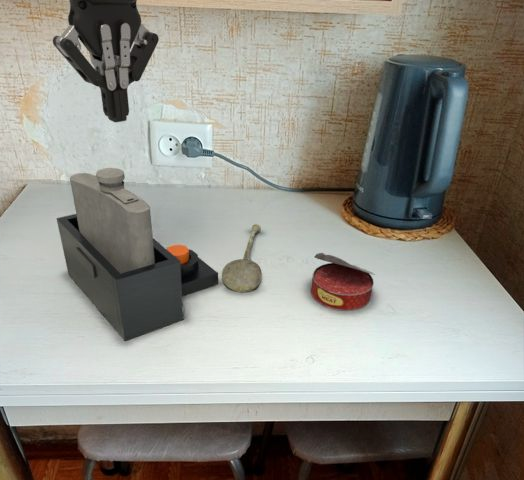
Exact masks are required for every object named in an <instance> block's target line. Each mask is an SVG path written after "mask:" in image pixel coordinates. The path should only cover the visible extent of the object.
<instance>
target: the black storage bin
mask: <svg viewBox="0 0 524 480" xmlns="http://www.w3.org/2000/svg"><path fill="white" fill-rule="evenodd" d="M56 222H57V228H58V232H59V237H60V243H61V247H62V251H63V256H64V260H65V264H66V270H67V274H68V276H69V277H70V278H71V280H72V281H73V282H74V283H75V285H77V287H78V288H79V290H81V291H82V292H83V294H84V295H85V296H86V297H87V298H88V299H89V301H90V302H91V303H92V305H94V307H95V308H96V309H97V310H98V311H99V312H100V313H101V315H102V316H103V317H104V319H106V321H107V322H108V323H109V324H110V326H111V327H113V329H114V330H115V331H116V332H117V334H118V335H119V336H120V338H121V339H122V340H123V341H124V342H126V341H129V340H132V339H135V338H137V337H141V336H143V335H145V334H148V333H152V332H154V331H157V330H159V329H162V328H164V327H168V326H170V325H173V324H175V323H179V322H181V321H184V309H183V307H184V306H183V296H182V285H181V266H180V260H178V259H177V258H176V257H175V256H174V255H173V254H171V253H170V252H169V251H168V250H167V248H166V247H164V246H163V245H162V244H161V243H159V241H157V240H156V239H155V238H154V237H153V248H154V260H155V264H152V265H149V266H145V267H142V268H138V269H135V270H132V271H128V272H125V273H122V274H120V273H119V272H118V271H117V270H116V269H115V268H114V267H113V265H112V264H111V263H110V262H109V261H108V260H107V259H106V258H105V257H104V256H103V255H102V254H101V253H100V252H99V251H98V250H97V249H96V248H95V247H94V246H93V245H92V244H91V243H90V242H89V241H88V240H87V239H86V238H85V237H84V236H83V235H82V234H81V233H80V231H79V226H78V220H77V215H76V213H74V214H69V215H65V216H59V217H56Z"/></svg>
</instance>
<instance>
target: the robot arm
mask: <svg viewBox="0 0 524 480" xmlns="http://www.w3.org/2000/svg"><path fill="white" fill-rule="evenodd" d="M68 1H69V13H68V15H67V22H68V26H67V28H66V29H65V30H64V31H63V32H62V33H61V35H54V36H53V38H52V44H53V46H54V47H55V48H56V50H57V51H58V52H59V53H60V55H62V57H63V58H64V59H65V60H66V61H67V63H69V65H70V66H71V67H72V68H73V70H75V71H76V73H77V74H78V75H79V76H80V77H81V79H82V80H83V81H84V82H85V83H87V84H91V85H93V86H94V87H98V88H99V89H100V96H101V103H102V111H103V113H104V116H105V117H107V119H108V120H109V121H111V122H112V123H121V122H122V123H123V122H126V121H127V118H128V116H129V114H130V105H129V104H130V103H129V94H128V88H129V86H130V85H131V84H132V83H133V82H139V81H140V80H141V78H142V76H143V74H144V72H145V70H146V68H147V66H148V64H149V62H150V60H151V58H152V56H153V54H154V52H155V50H156V47H157V45H158V43H159V42H160V41H159V39H160V37H159V35H158V34H157V33H155V32H151V31H150V30H148V28H147V27H145V26H144V25H143V24H142V17H141V14H140V11H139V9H138V6H137V0H68ZM80 42H81V43H82V44H81V43H80ZM82 45H83V46H84V47H85V49H86V50H87V52H88V53H89V57H90V61H89V60H88V59H87V58H86V56H84V54H83V53H82V52H81V50H82Z"/></svg>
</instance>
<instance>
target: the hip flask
mask: <svg viewBox="0 0 524 480" xmlns="http://www.w3.org/2000/svg"><path fill="white" fill-rule="evenodd" d="M125 176H126V175H125V171H124V170H123V169H120V168H116V167H106V168H101V169H98V170H97V171H96V172H95V175H94V174H91V173H87V172H79V173H74V174H72V175H70V177H69V181H70V182H69V183H70V187H71V193H72V197H73V204H74V209H75V214H76V215H77V220H78V226H79V231H80V233H81V234H82V235H83V236H84V237H85V238H86V239H87V240H88V241H89V242H90V243H91V244H92V245H93V246H94V247H95V248H96V249H97V250H98V251H99V252H100V253H101V254H102V255H103V256H104V257H105V258H106V259H107V260H108V261H109V262H110V263H111V264H112V265H113V267H114V268H115V269H116V270H117V271H118V272H119V273H120V274H122V273H125V272H128V271H132V270H135V269H138V268H142V267H145V266H149V265H152V264H155V260H154V248H153V238H154V236H153V226H152V225H153V224H152V214H151V213H152V212H151V205H149V203H147V202H146V201H145V200H144V199H142V198H141V197H139V196H138V195H137V194H135V193H134V192H132V191H130V190H128V189H127V188H125V179H126V177H125Z"/></svg>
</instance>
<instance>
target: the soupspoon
mask: <svg viewBox="0 0 524 480" xmlns="http://www.w3.org/2000/svg"><path fill="white" fill-rule="evenodd" d="M261 230H262V228H261V225H260V224H258V223H254V224H252V226H251V234H250V235H249V239H248V242H247V245H246V248H245V251H244V254H243V257H242V258H239V259H233V260H232V261H230V262H228V263H226V264H225V266H224V267H223V270H222V273H221V280H222V283H223V284H224V285H225V286H226V287H227V288H228V289H230V290H232V291H233V292H236V293H247V292H251V291H253V290H254V289H256V288H257V287H258V286H259V284H260V282H261V280H262V274H263V273H262V269H261V267H260V265H259V263H257V262H255V261H254V260H251V259H250V254H251V249H252V245H253V242H254V239H255V235H256V234H257V233H260V232H261Z"/></svg>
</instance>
